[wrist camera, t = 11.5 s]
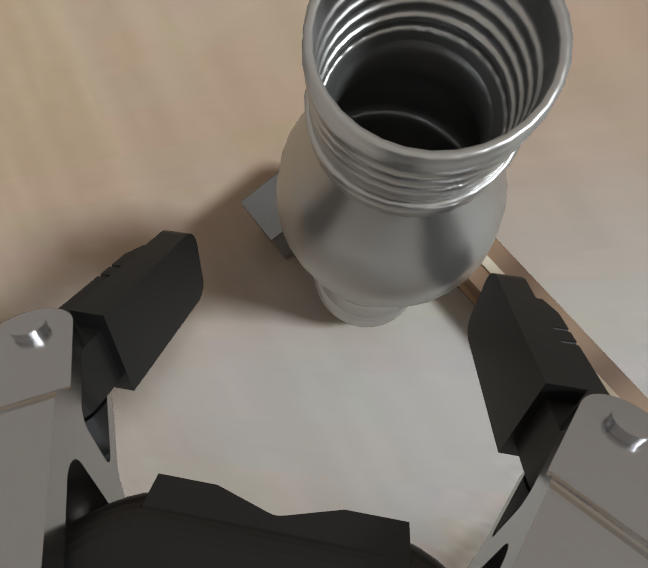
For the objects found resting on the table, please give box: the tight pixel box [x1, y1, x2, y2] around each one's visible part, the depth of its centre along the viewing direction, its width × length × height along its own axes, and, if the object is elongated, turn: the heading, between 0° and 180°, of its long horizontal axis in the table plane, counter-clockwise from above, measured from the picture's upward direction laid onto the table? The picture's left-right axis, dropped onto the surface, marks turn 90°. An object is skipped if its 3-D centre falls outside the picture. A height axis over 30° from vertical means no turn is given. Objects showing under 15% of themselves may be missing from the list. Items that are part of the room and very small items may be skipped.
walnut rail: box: [458, 238, 648, 413], centre depth 22 cm, size 28×3×3 cm, turn 39°
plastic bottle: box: [276, 0, 573, 327], centre depth 14 cm, size 6×7×20 cm
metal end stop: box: [241, 173, 293, 259], centre depth 23 cm, size 3×7×5 cm, turn 129°
